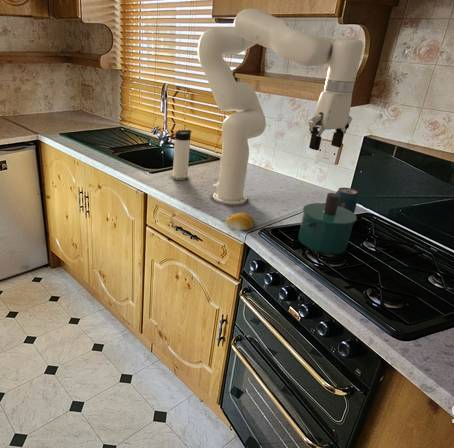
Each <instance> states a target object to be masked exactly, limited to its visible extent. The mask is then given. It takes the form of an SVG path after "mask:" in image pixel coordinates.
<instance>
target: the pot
mask: <svg viewBox="0 0 454 448" xmlns="http://www.w3.org/2000/svg"><path fill="white" fill-rule="evenodd" d="M302 213H303V214H302V218H301V221H300V227H299V232H298V241H299V242H300V243H301V245H303V246H305V247H306V248H308V249H311V250H313V251H317V252H321V253H327V254H329V255H331V256H332V255H333V256H334V255H340V254H344V253H345V252H346V250H347V248H348V245H349V241H350V237H351V235H352V230H353V227H354V224H355V223H353V224H350V225H332V224H326V223H322V222H319V221H316V220H313V219H311V218H309V217H308V216H306V215H305V214H304V212H302Z"/></svg>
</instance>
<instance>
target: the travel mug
mask: <svg viewBox="0 0 454 448" xmlns="http://www.w3.org/2000/svg"><path fill="white" fill-rule="evenodd" d="M191 133H193V131H192V130H190V129H182V130H177V131H175V134H174V135H175V136H174V144H173V145H174V146H173V148H174V149H173V160H172V161H173V162H172V175H171V176H172V179H173V180H176V181H185V180H187V179H188V172H189V160H190V148H191Z"/></svg>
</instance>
